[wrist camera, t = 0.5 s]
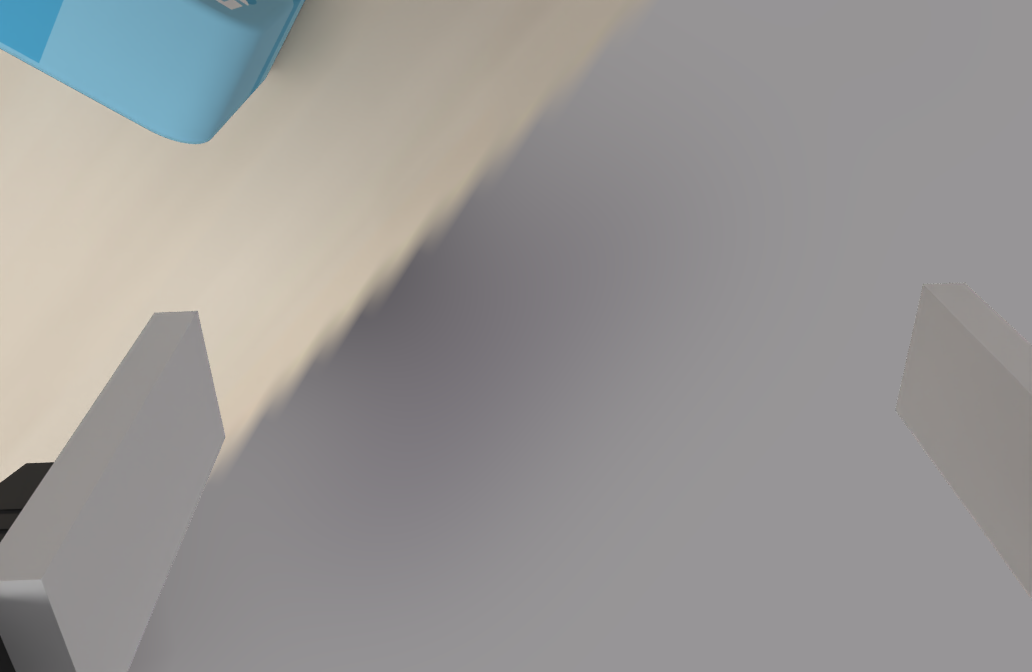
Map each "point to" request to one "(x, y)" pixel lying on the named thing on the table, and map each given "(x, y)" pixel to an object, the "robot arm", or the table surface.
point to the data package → (154, 54)
